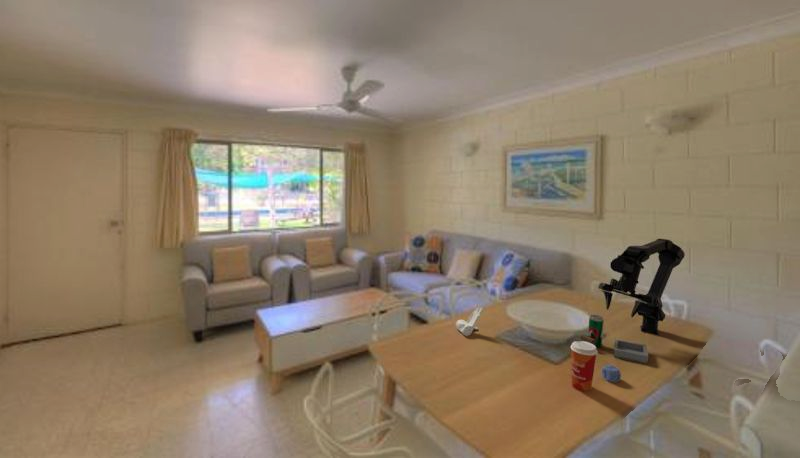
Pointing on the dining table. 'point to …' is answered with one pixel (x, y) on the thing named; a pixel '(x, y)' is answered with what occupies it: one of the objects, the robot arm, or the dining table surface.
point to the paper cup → (582, 364)
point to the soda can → (596, 329)
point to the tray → (630, 351)
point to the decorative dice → (611, 373)
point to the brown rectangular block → (587, 339)
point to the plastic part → (469, 322)
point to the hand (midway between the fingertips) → (619, 313)
